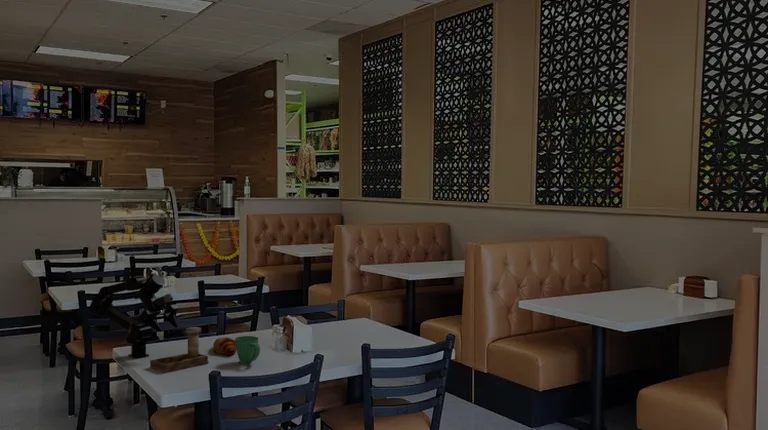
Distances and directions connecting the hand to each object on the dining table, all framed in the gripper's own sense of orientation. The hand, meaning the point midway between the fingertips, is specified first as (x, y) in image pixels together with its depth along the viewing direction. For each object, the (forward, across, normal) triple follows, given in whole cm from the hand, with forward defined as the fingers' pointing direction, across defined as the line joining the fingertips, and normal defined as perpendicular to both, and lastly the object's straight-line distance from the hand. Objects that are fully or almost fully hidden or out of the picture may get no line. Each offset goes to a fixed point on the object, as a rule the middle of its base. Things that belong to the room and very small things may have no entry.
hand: (169, 329), depth 274 cm
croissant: (+16, +26, +4) cm, 30 cm away
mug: (+31, +14, -12) cm, 36 cm away
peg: (+16, +4, +2) cm, 16 cm away
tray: (+15, -3, +4) cm, 16 cm away
